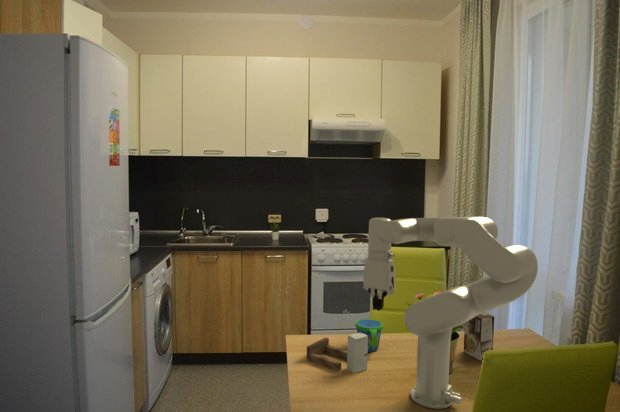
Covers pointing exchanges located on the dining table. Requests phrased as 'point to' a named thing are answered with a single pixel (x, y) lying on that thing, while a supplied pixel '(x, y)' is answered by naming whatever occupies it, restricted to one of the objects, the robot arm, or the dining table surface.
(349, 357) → the skincare box
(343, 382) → the dining table surface
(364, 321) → the snack cup
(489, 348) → the coffee box
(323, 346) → the u rest
